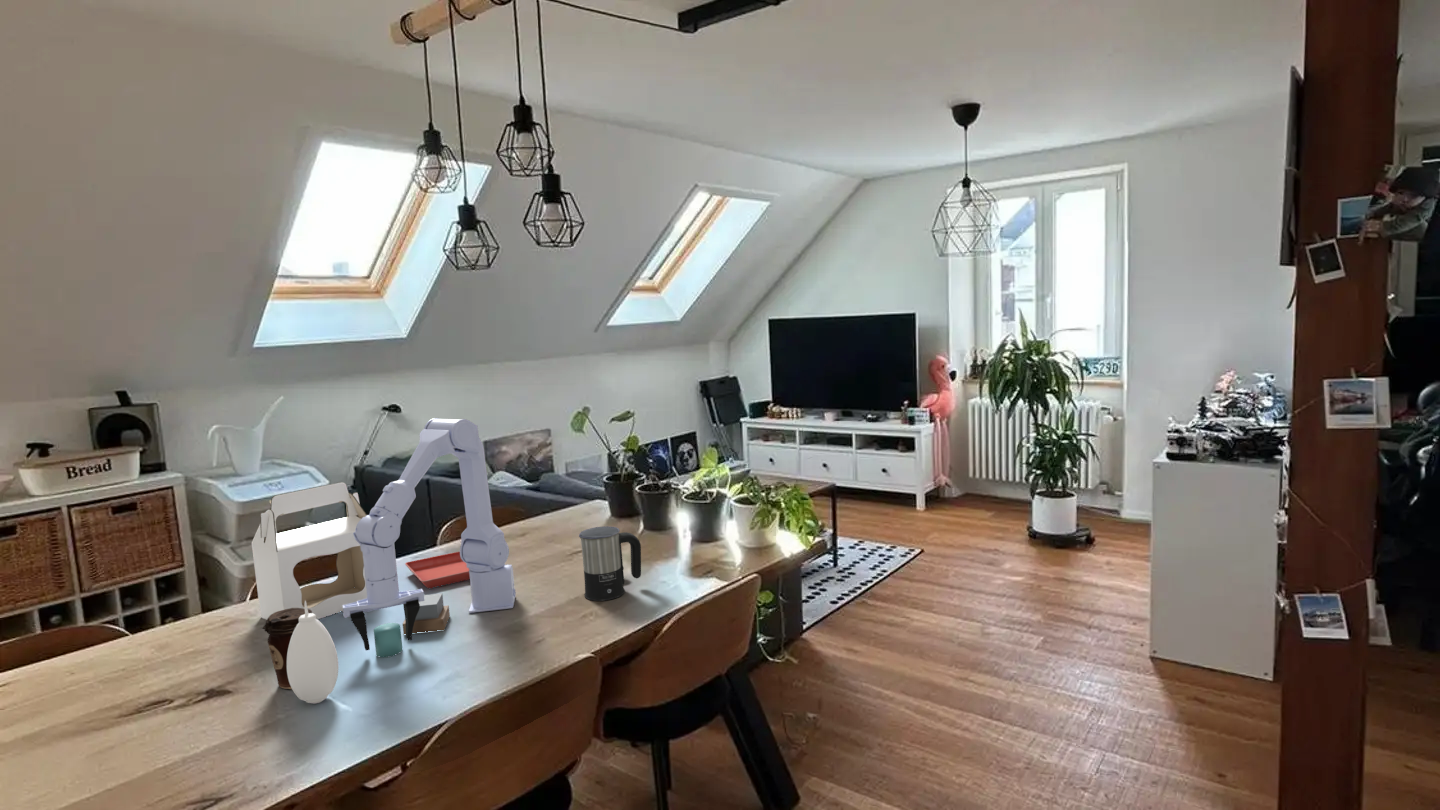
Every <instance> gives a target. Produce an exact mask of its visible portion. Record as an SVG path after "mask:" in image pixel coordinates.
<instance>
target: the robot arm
mask: <svg viewBox="0 0 1440 810" xmlns="http://www.w3.org/2000/svg"><path fill="white" fill-rule="evenodd" d="M418 435H419V442H418V444H417V446H416V448H415V449H414V451H413V453H412V455H411V457H410V459H409V460H408V462H407V463H406V466H405V468H404V470H403V471H402V473H401V475H400V477H399V478H398V480H394V481H391V482H389V483H388V484H387V485H385V486H384V487H383V489H382V494H381V495H380V497H379V498H378V500H377V501H376V503H375V504H374V506H373V507H372V508H371V509H370V511H369V514H367V516H365V517H363V518H362V519H361V520H360V521H359V522H358V524H357V526H356V531H355V532H354V533H353V535H354V538H355V540H356V541H357V542H358V543H359V544H360V547H361V551H362V552H363V561H364V571H365V580H366V589H367V598H366V599H363V600H360V601H356V602H353V603H350V604H346V605H342V607H343V611H342V615H343V617H344V618H345V619H346V618H350V621H351V623H352V625H353V626H354V627H355V629H356V630H357V632H358V633H359V635H360V638H361V639H362V642H363V646H364V649H365V651H369V650H370V643H369V642H370V641H369V636H368V629H367V628H368V627H367V619H366V615H365V613H368V612H373V611H376V610H378V611H379V610H381V609H382V610H383V609H387V608H391V607H395V606H401V605H403V606H402V607H403V611H404V612H403V613H404V620H405V621H406V635H405V636H406V639H407V641H411V640H412V638H413V634H412V631H413V626H414V622H415V619H416V616H417V614H418V611H419V608H420V604H419V602H421V601H424V595H425V592H424V589H423V588H419V589H414V590H403V591H400V589H399V577H398V568H397V559H396V549H395V542H396V541H397V540H398V539H400V533H401V525H402V523H403V522H402V521H403V519H404V517H405V515H406V513H407V512H408V510H410V507H411V506H412V504H413V502H415V501H414V500H415V499H416V497H417V496H416V490H415V488H416V487H417V485H418V484H419V482H421V480H422V479H423V477H424V476H425V474H426V473H427V472H428V471H429V469H430V468H431V466H432V465H433V464H434V462H435V461H436V460H437V458H440V457H443V456H446V455H450V454H451V455H452V456H454V457H456V458H457V459H458V466H459V474H460V480H461V489H462V495H463V504H464V511H465V513H464V514H465V518H466V520H465V521H466V528H465V529H464V530H463V531H462V532H461V535H460V538H461V542H460V546H459V552H460V557H461V559H462V560H463V561H464V562H465V563H466V565H467V568H469V575H470V580H469V582H470V583H469V585H470V593H471V596H470V597H471V603H470V605H469V609H468V613H469V614H473V613H482V612H489V611H498V610H500V611H501V610H506V609H513V608H514V605H515V600H516V593H517V592H516V588H515V580H514V568H513V565H512V564H506V562H507V560H508V559H509V554H510V549H509V544H508V542H507V541H506V539H505V534H504V532H503V530H502V529H501V528H499V527H498V526H497V525H496V524H495V523H494V519H493V512H492V503H491V497H490V488H489V487H490V486H489V480H488V473H487V463H486V457H485V449H484V448H485V447H484V443H483V442H482V441H481V438H480V435H479V428H478V425H477V424H476V423H474V422H473V421H471V420H469V419H467V418H461V419H458V418H457V419H455V418H454V419H453V418H439V417H433V418H431V419H429V420H428V421H427V422H426V423H425V425H424V427H423V428H422V430H421V431H420V432H419V434H418Z"/></svg>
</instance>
